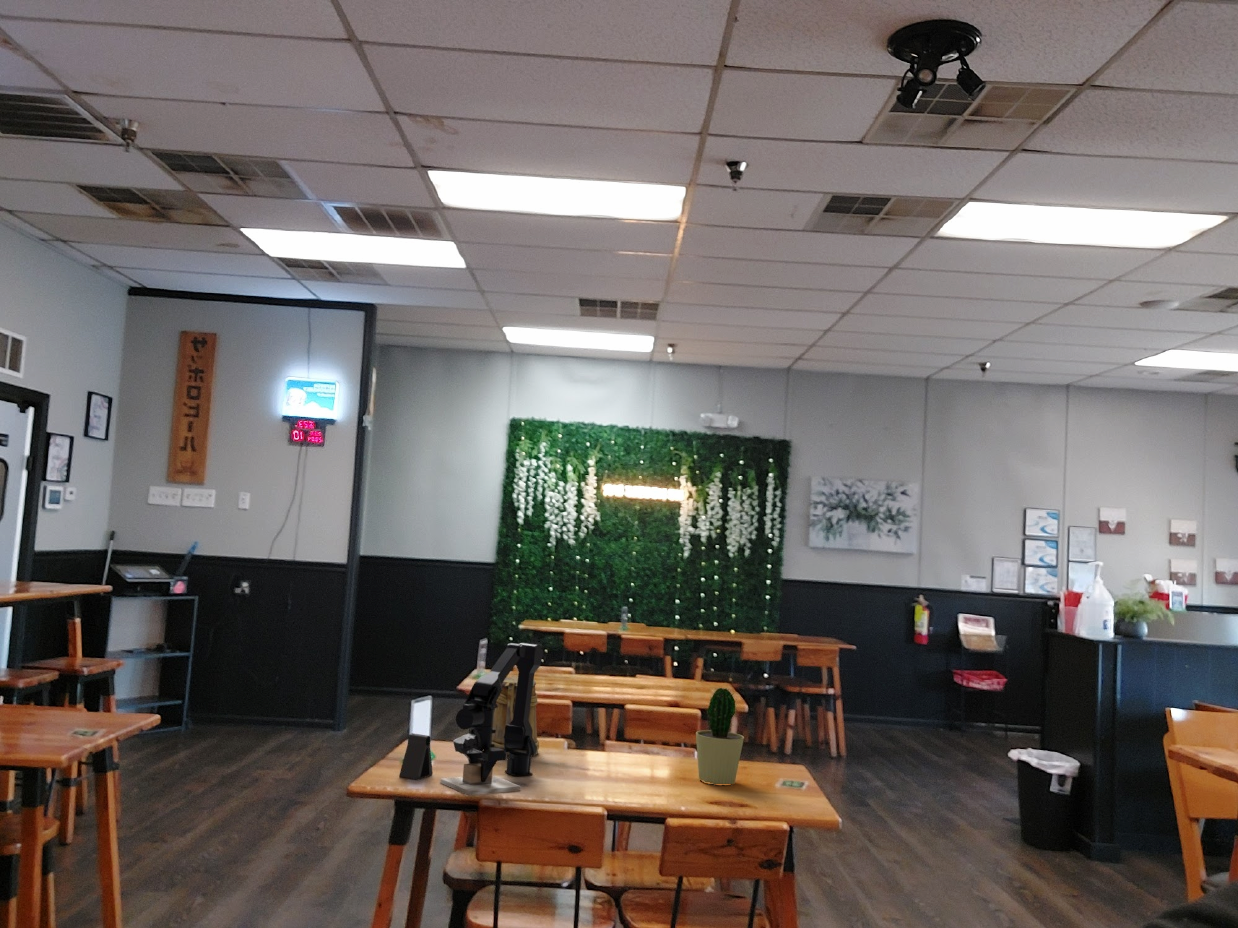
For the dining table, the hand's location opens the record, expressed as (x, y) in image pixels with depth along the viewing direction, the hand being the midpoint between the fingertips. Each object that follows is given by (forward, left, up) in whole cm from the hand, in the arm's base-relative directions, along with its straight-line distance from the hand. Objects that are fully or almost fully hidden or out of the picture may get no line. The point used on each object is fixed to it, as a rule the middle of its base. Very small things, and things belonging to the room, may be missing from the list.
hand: (478, 779), depth 292 cm
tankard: (-36, -37, -2) cm, 51 cm away
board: (-1, 0, -2) cm, 2 cm away
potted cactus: (-76, +21, -2) cm, 79 cm away
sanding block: (0, 0, -1) cm, 1 cm away
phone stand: (+10, -18, -2) cm, 21 cm away
